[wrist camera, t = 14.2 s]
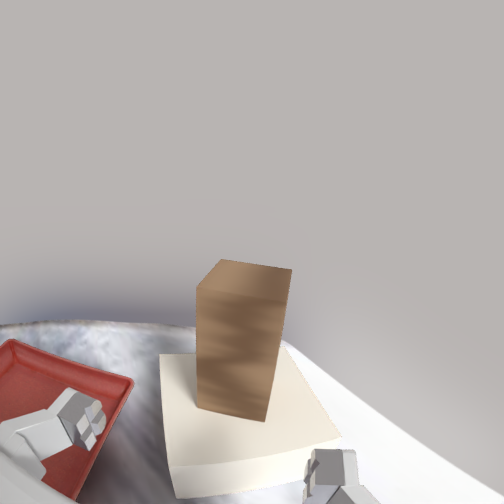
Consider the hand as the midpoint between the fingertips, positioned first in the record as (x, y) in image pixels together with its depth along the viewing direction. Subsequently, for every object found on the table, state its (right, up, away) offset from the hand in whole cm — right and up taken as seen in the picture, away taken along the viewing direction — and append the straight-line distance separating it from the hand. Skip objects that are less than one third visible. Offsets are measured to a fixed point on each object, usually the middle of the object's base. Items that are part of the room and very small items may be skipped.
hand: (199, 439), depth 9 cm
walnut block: (+1, -4, +12) cm, 13 cm away
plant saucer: (-19, -10, +9) cm, 23 cm away
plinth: (0, -10, +14) cm, 17 cm away
